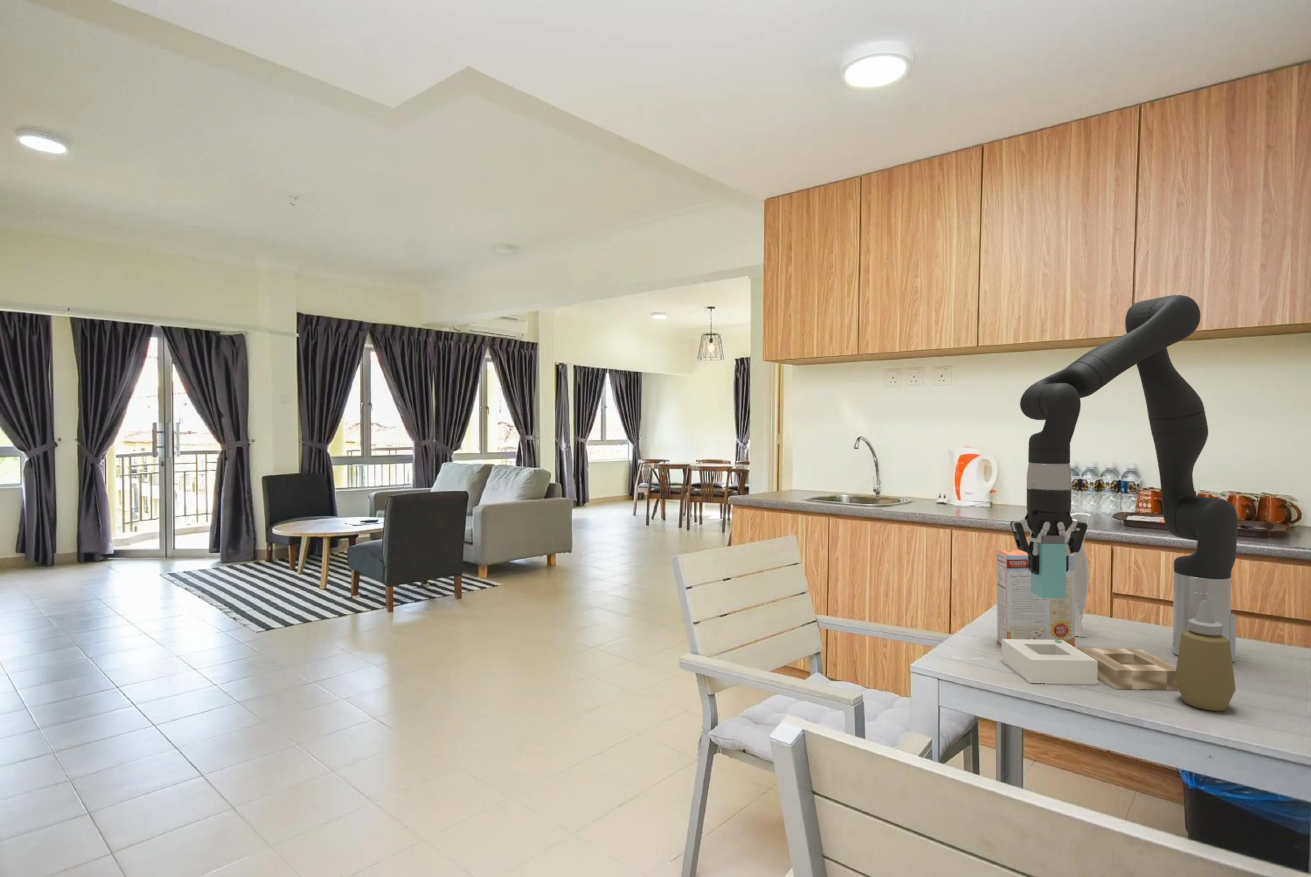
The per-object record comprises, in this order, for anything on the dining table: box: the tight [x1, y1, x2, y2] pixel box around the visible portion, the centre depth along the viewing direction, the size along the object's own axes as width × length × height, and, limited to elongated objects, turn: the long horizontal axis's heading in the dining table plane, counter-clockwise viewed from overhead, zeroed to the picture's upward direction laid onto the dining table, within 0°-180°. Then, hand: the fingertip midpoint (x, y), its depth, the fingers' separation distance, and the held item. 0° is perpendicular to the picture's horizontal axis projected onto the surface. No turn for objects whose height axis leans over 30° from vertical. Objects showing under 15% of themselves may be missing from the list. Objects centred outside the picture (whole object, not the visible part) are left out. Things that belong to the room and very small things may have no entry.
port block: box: [1001, 639, 1098, 686], centre depth 130 cm, size 12×12×5 cm
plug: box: [1031, 535, 1066, 599], centre depth 130 cm, size 4×4×12 cm
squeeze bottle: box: [1175, 600, 1237, 712], centre depth 115 cm, size 8×8×18 cm
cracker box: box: [996, 549, 1076, 648], centre depth 145 cm, size 14×6×21 cm, turn 84°
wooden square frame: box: [1077, 647, 1179, 691], centre depth 128 cm, size 12×12×4 cm
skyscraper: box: [1066, 512, 1092, 638], centre depth 154 cm, size 8×8×28 cm
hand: (1047, 573), depth 130 cm, fingers closed on plug, 4 cm apart
